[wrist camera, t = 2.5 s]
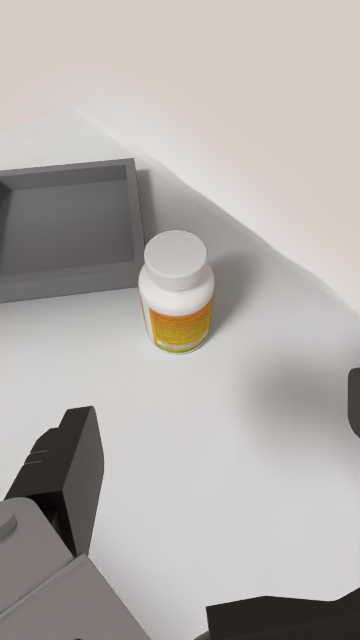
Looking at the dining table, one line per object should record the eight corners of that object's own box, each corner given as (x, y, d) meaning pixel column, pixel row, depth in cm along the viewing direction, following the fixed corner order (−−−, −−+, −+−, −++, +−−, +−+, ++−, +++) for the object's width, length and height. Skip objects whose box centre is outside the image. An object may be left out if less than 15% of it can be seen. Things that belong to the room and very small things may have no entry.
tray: (-26, 306, 31) (-42, 290, 29) (-3, 191, 39) (-13, 172, 37) (149, 285, 32) (147, 268, 30) (136, 177, 40) (133, 158, 38)
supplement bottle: (221, 335, 29) (237, 260, 21) (168, 368, 27) (162, 301, 19) (185, 293, 31) (186, 210, 23) (135, 321, 30) (116, 243, 21)
